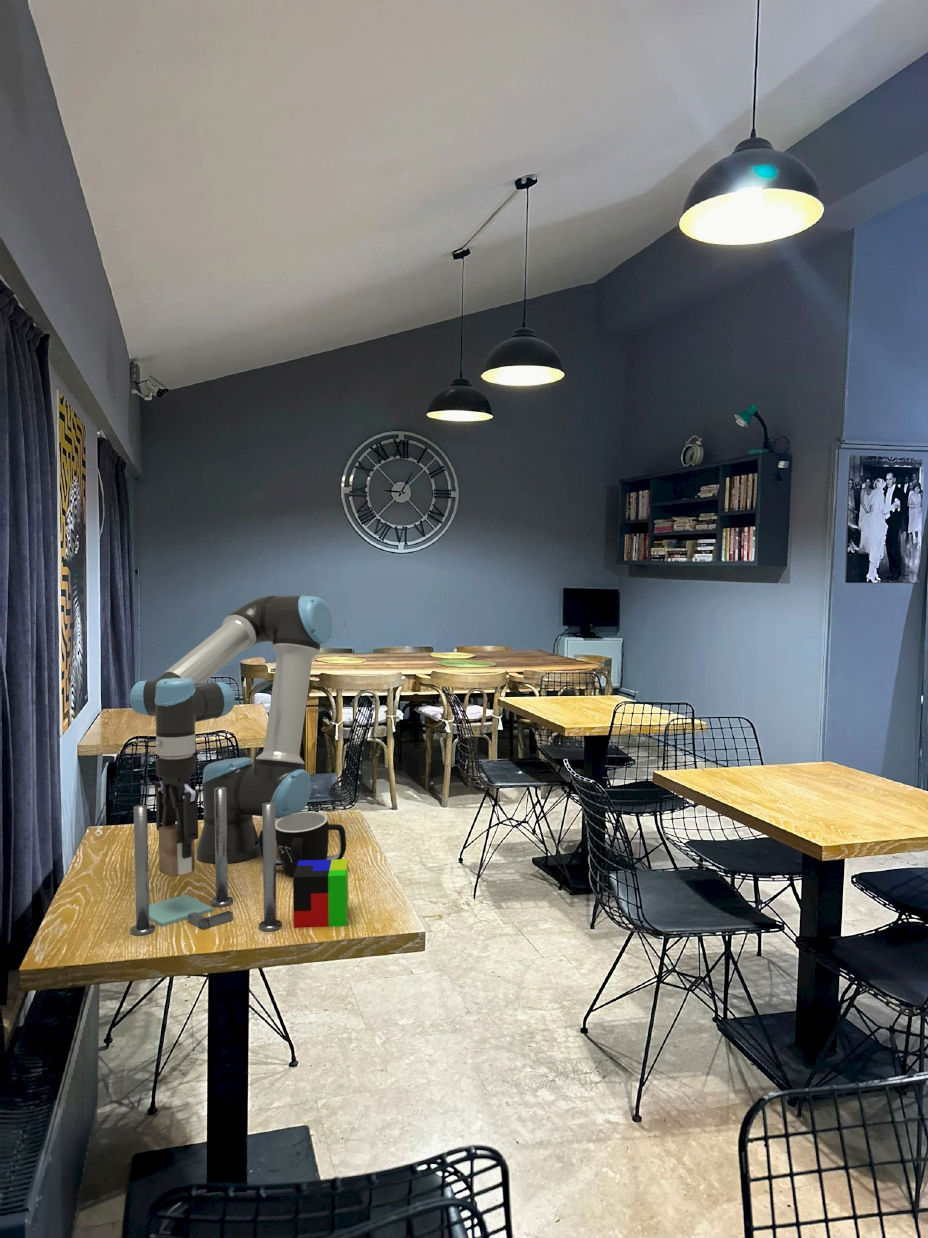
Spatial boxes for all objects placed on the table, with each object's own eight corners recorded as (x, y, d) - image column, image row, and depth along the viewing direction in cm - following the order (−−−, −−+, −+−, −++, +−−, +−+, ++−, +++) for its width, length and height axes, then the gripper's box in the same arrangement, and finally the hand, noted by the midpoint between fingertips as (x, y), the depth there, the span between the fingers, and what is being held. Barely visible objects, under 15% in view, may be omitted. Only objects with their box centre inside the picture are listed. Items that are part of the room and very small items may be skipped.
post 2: (207, 903, 180) (205, 788, 179) (226, 897, 183) (224, 785, 182) (218, 908, 177) (216, 792, 176) (237, 903, 180) (235, 788, 179)
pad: (136, 911, 176) (135, 908, 176) (186, 897, 184) (186, 894, 183) (161, 926, 168) (161, 923, 168) (212, 911, 176) (212, 908, 176)
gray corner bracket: (188, 921, 170) (187, 914, 170) (217, 912, 175) (217, 905, 175) (202, 929, 166) (202, 922, 166) (232, 920, 171) (232, 912, 171)
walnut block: (182, 866, 179) (181, 822, 178) (194, 871, 175) (194, 827, 175) (159, 871, 175) (158, 827, 175) (171, 877, 172) (171, 832, 171)
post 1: (126, 931, 166) (124, 807, 165) (148, 924, 169) (146, 802, 168) (136, 937, 163) (134, 811, 162) (159, 930, 166) (156, 806, 165)
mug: (257, 871, 201) (252, 821, 199) (317, 849, 211) (313, 802, 209) (291, 893, 188) (287, 841, 187) (354, 869, 199) (350, 820, 197)
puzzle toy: (299, 909, 177) (298, 860, 177) (348, 907, 178) (348, 859, 177) (293, 928, 167) (293, 877, 167) (346, 926, 168) (345, 875, 167)
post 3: (254, 927, 167) (252, 804, 166) (273, 920, 171) (272, 800, 170) (266, 933, 164) (265, 808, 163) (286, 927, 167) (284, 804, 166)
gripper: (136, 752, 178) (138, 864, 179) (181, 764, 165) (182, 885, 166) (170, 747, 183) (172, 856, 184) (216, 759, 171) (217, 875, 172)
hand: (177, 869), depth 175 cm, fingers closed on walnut block, 5 cm apart
